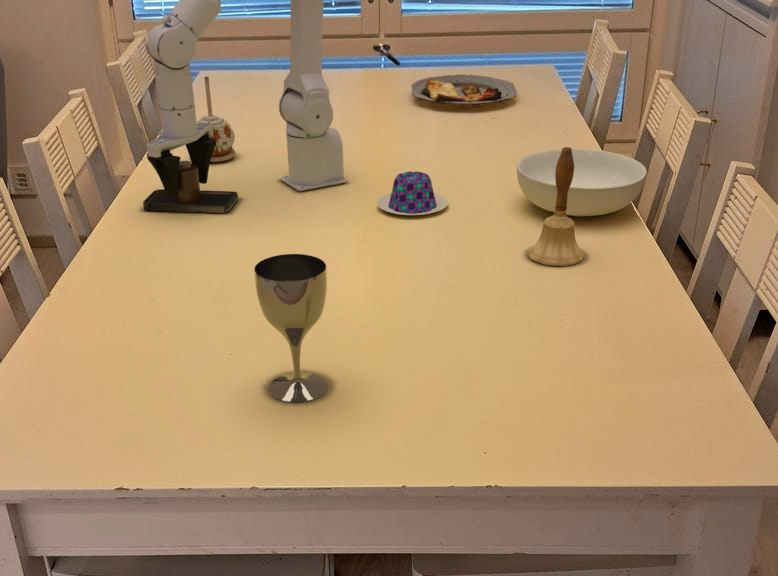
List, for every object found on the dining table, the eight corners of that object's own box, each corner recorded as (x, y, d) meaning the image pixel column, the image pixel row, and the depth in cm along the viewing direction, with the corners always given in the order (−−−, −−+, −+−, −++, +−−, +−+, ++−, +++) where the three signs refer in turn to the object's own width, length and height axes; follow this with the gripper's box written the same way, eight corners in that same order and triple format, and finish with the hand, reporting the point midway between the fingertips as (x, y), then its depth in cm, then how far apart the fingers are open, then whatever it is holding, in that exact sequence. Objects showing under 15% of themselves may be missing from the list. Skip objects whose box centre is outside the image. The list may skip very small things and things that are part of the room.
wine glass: (264, 373, 124) (254, 255, 116) (329, 370, 125) (324, 252, 116) (264, 406, 118) (253, 283, 109) (333, 402, 118) (328, 279, 110)
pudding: (362, 208, 172) (361, 177, 169) (408, 190, 179) (409, 160, 176) (416, 224, 165) (416, 192, 162) (462, 205, 172) (463, 174, 169)
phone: (155, 189, 179) (239, 191, 177) (156, 195, 179) (239, 197, 177) (140, 204, 172) (227, 206, 170) (141, 210, 173) (227, 213, 171)
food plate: (521, 112, 221) (522, 95, 219) (413, 114, 221) (413, 97, 219) (509, 84, 241) (510, 68, 239) (410, 86, 242) (410, 70, 240)
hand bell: (587, 248, 155) (599, 142, 146) (578, 269, 149) (590, 158, 140) (533, 243, 158) (541, 137, 149) (522, 263, 151) (530, 154, 142)
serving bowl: (564, 239, 159) (568, 195, 155) (490, 200, 174) (492, 159, 170) (668, 215, 166) (674, 173, 163) (588, 180, 182) (592, 141, 178)
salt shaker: (196, 197, 177) (191, 157, 173) (205, 205, 174) (200, 163, 170) (172, 202, 176) (166, 161, 172) (181, 209, 172) (175, 168, 168)
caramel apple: (209, 167, 193) (200, 83, 184) (186, 158, 198) (177, 76, 189) (243, 158, 197) (235, 76, 188) (220, 150, 202) (212, 69, 193)
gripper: (186, 93, 173) (195, 173, 180) (127, 113, 162) (140, 197, 170) (219, 97, 170) (227, 179, 177) (162, 118, 159) (173, 204, 167)
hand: (187, 189), depth 173 cm, fingers open, 7 cm apart
